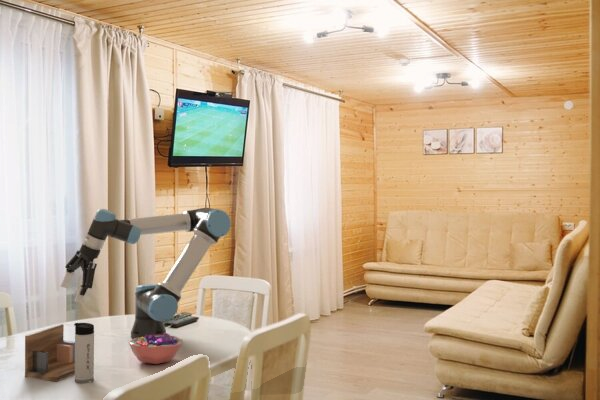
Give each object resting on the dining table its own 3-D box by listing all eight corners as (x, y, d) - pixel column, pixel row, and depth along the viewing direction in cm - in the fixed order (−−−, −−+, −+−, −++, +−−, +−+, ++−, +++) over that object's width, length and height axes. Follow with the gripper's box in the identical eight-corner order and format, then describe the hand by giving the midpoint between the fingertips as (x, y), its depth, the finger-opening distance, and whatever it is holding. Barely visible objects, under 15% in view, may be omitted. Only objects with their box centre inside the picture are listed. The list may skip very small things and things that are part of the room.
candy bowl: (136, 354, 245) (136, 326, 244) (186, 356, 244) (186, 328, 244) (122, 368, 228) (123, 338, 228) (176, 370, 228) (176, 339, 227)
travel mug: (76, 377, 217) (76, 321, 216) (95, 377, 217) (96, 321, 216) (71, 383, 211) (71, 325, 210) (91, 383, 211) (91, 325, 210)
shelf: (90, 366, 229) (90, 327, 228) (56, 381, 212) (56, 340, 211) (60, 361, 233) (60, 324, 233) (24, 376, 216) (25, 335, 216)
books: (75, 360, 231) (76, 341, 231) (69, 363, 228) (69, 344, 227) (63, 358, 233) (63, 340, 233) (56, 361, 230) (56, 342, 229)
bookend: (48, 371, 217) (48, 352, 217) (41, 374, 214) (41, 354, 214) (35, 369, 219) (35, 350, 219) (27, 372, 216) (28, 352, 216)
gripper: (70, 232, 252) (50, 279, 252) (97, 256, 235) (74, 306, 235) (87, 236, 257) (66, 282, 258) (114, 260, 240) (92, 309, 241)
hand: (70, 294), depth 246 cm, fingers open, 13 cm apart
